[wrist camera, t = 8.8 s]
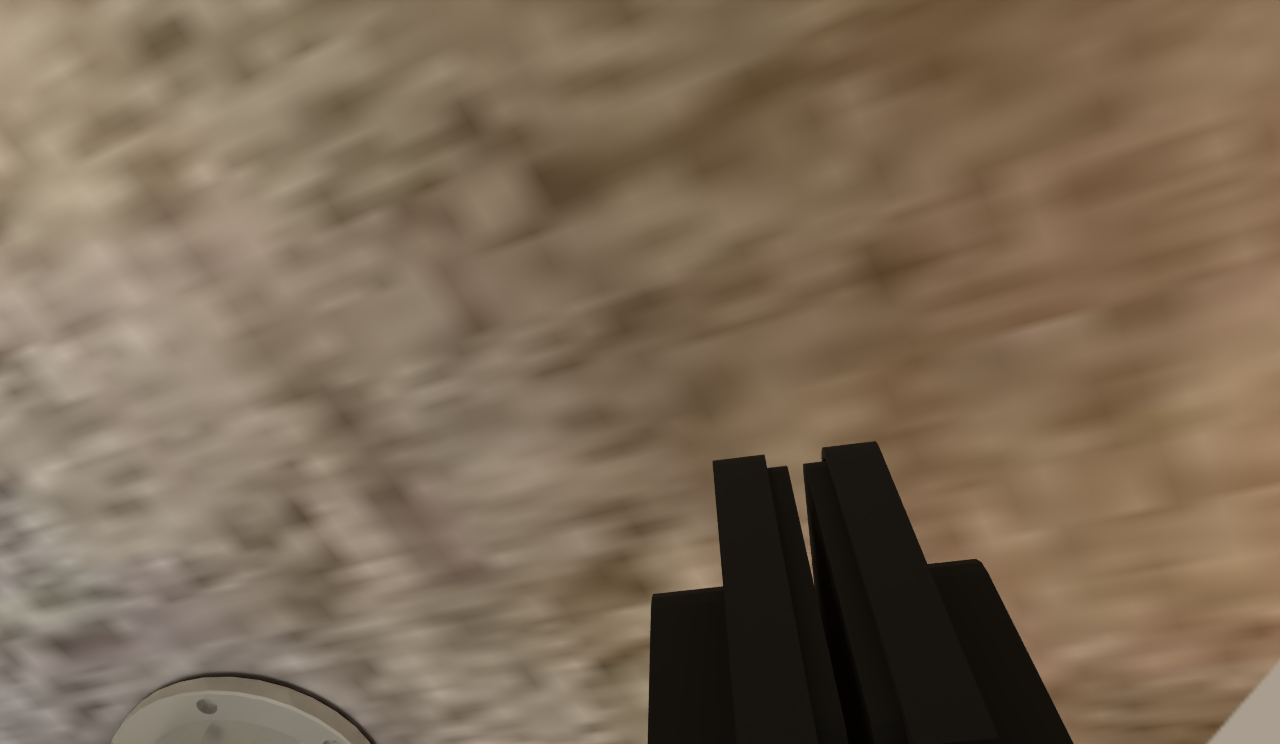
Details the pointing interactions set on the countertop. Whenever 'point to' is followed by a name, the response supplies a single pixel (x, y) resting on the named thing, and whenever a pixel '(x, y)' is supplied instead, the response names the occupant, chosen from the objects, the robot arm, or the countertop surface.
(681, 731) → the robot arm
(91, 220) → the countertop surface
